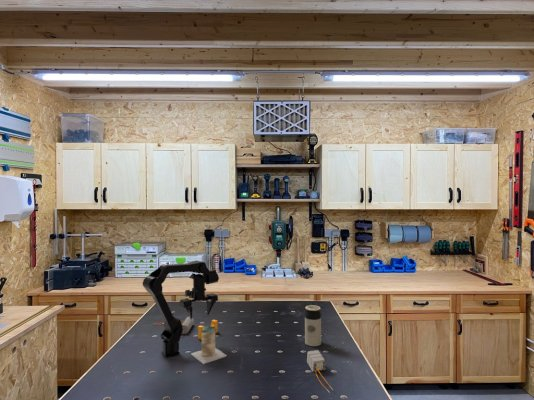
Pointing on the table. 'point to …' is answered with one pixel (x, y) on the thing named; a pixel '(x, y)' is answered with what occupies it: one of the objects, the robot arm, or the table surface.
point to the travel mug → (312, 325)
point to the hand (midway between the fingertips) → (199, 317)
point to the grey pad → (204, 360)
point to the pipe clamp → (213, 324)
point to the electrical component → (316, 363)
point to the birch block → (208, 341)
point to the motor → (185, 324)
